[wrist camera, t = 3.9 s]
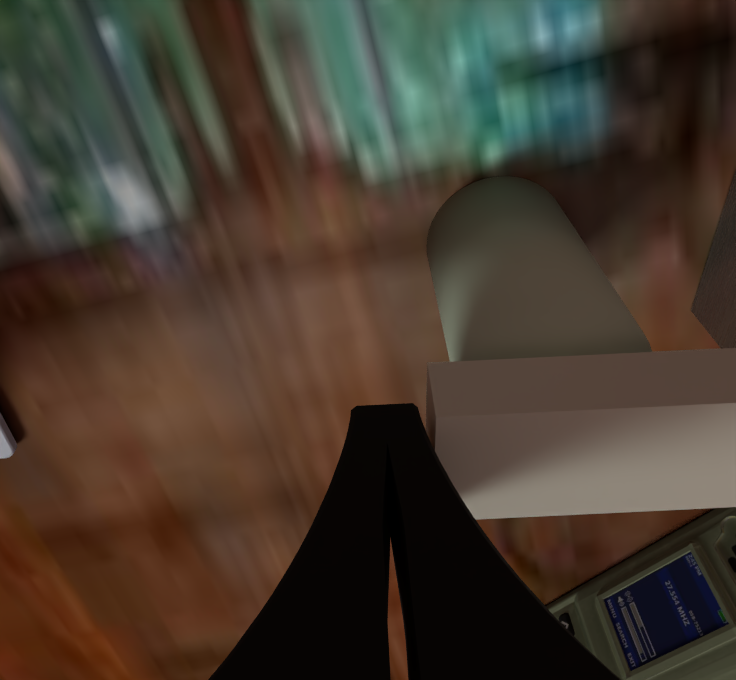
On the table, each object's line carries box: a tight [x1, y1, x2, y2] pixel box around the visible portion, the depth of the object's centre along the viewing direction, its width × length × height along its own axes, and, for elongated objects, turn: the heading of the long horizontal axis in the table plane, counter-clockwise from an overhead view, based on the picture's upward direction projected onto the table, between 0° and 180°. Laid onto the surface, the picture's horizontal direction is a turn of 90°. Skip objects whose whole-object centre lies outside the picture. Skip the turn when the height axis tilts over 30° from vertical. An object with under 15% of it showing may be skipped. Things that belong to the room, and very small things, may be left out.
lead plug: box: [427, 176, 652, 362], centre depth 17 cm, size 4×4×7 cm
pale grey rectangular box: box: [426, 348, 736, 519], centre depth 13 cm, size 12×3×2 cm, turn 92°
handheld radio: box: [546, 507, 736, 680], centre depth 28 cm, size 7×3×25 cm
